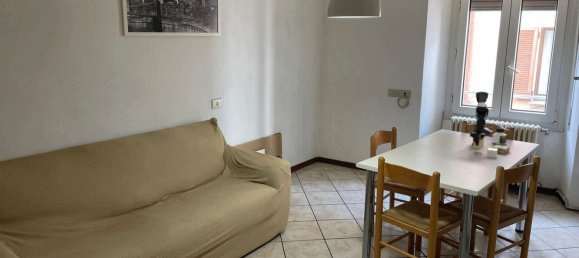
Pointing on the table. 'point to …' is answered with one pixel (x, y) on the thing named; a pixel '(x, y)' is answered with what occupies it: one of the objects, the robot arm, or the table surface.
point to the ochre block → (480, 144)
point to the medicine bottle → (499, 136)
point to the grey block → (492, 152)
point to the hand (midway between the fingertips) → (478, 145)
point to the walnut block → (502, 149)
